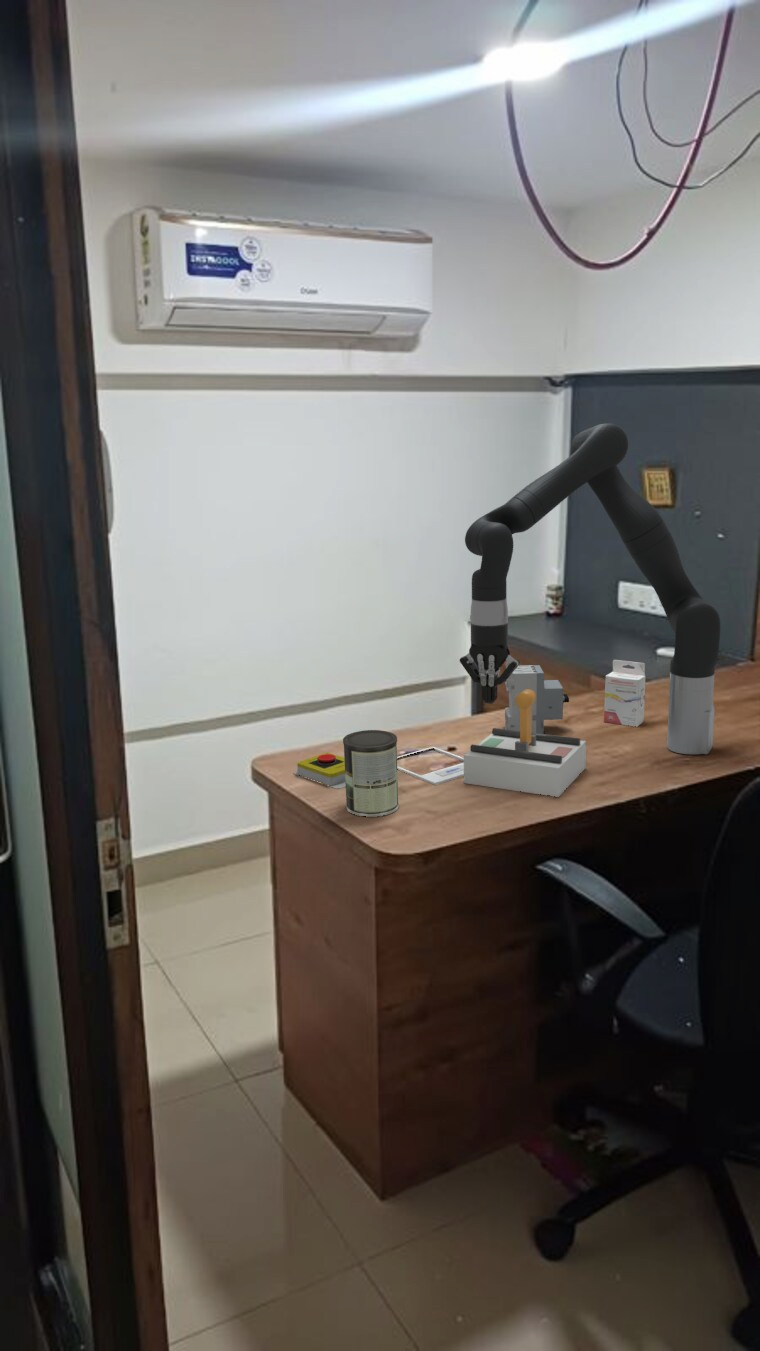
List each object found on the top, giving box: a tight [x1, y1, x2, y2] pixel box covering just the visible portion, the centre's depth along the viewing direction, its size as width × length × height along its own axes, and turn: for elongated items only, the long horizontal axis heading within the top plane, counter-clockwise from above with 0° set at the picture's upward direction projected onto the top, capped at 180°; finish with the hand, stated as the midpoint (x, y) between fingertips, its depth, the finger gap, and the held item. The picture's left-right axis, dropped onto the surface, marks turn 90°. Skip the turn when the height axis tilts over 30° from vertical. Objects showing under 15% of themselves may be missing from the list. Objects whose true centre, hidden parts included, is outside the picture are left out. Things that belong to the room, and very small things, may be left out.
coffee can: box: [342, 729, 400, 818], centre depth 191 cm, size 10×10×14 cm
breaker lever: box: [515, 689, 536, 744], centre depth 204 cm, size 3×4×11 cm
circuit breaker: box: [504, 664, 570, 734], centre depth 234 cm, size 8×14×15 cm, turn 89°
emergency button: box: [292, 752, 346, 790], centre depth 210 cm, size 9×4×15 cm
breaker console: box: [463, 727, 587, 798], centre depth 206 cm, size 20×18×8 cm
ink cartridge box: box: [603, 659, 647, 728], centre depth 238 cm, size 9×5×15 cm, turn 58°
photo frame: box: [397, 746, 464, 786], centre depth 214 cm, size 15×1×18 cm
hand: (489, 702), depth 207 cm, fingers closed
